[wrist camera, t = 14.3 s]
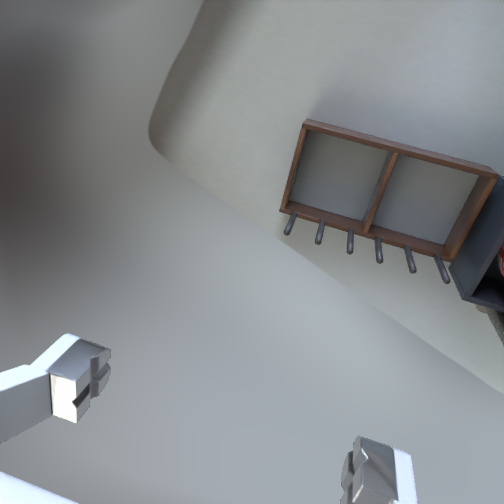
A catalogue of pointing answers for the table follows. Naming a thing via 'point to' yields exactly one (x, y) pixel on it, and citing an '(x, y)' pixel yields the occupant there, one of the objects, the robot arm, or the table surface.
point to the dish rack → (365, 227)
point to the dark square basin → (483, 255)
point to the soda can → (500, 260)
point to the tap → (494, 320)
